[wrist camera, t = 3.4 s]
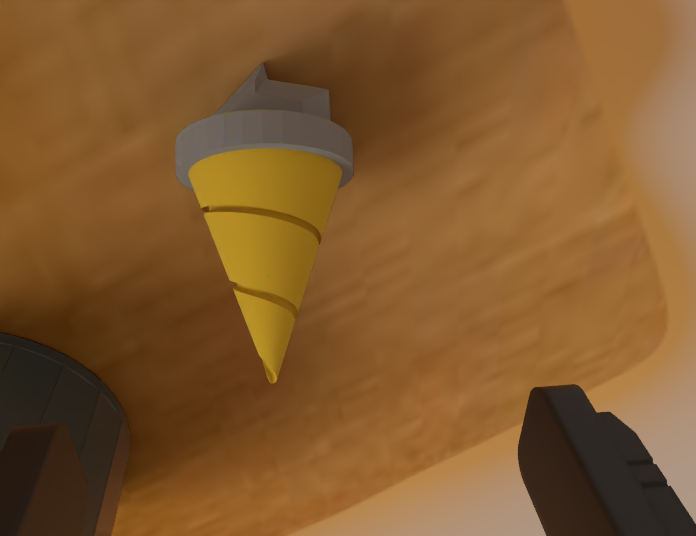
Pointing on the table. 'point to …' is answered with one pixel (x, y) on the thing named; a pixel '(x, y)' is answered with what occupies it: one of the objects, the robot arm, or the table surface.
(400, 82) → the table surface
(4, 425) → the pen pot
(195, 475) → the table surface
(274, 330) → the spiral grooved cone
